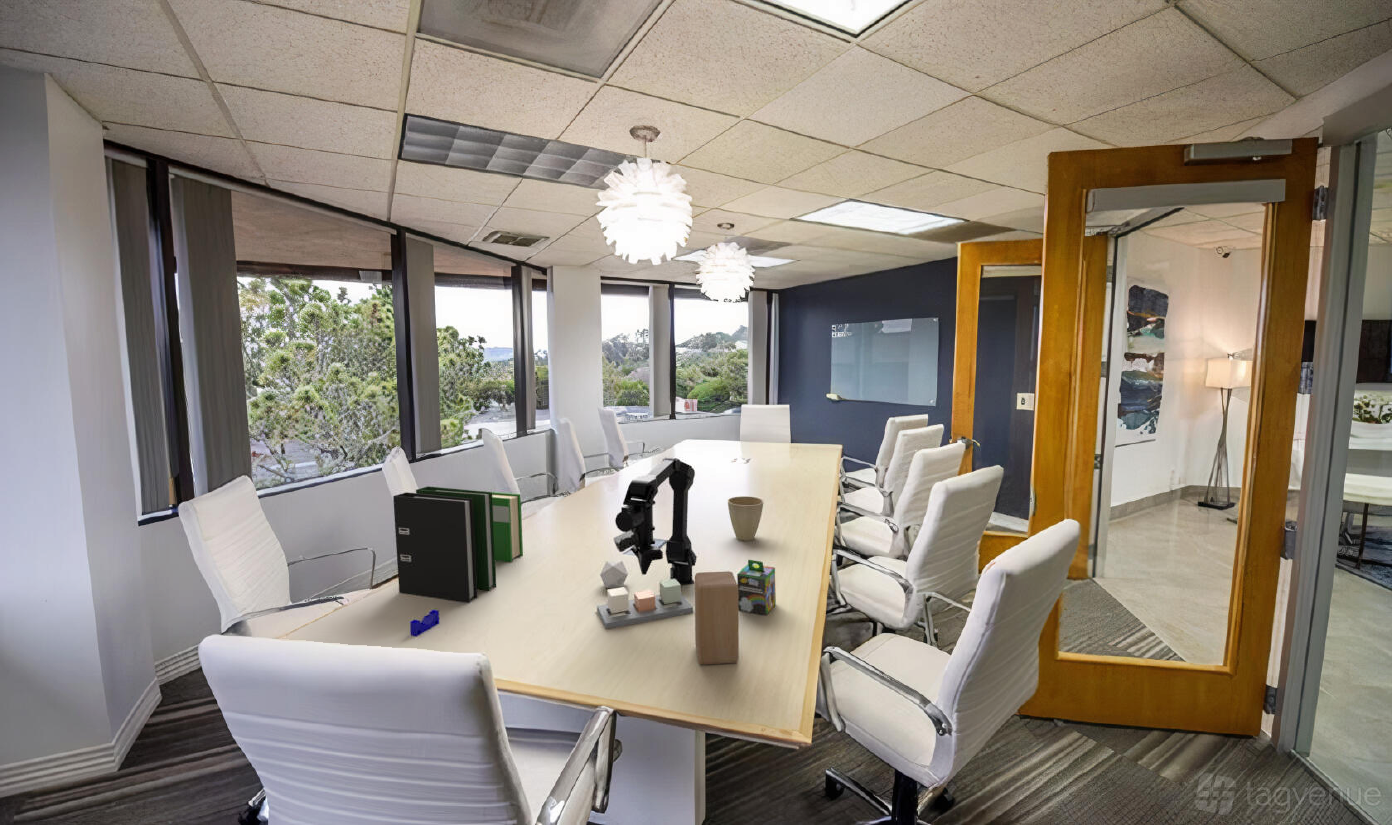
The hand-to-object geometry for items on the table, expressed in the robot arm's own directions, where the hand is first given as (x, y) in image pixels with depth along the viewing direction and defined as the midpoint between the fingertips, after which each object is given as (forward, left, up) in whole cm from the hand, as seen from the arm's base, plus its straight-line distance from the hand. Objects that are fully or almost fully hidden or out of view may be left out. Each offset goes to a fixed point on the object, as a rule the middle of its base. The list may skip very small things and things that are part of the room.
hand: (643, 574), depth 162 cm
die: (+4, -22, -12) cm, 25 cm away
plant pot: (-58, -49, -12) cm, 77 cm away
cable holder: (+60, -14, -12) cm, 63 cm away
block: (-10, +30, -12) cm, 34 cm away
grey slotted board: (0, 0, -12) cm, 12 cm away
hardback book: (+39, -67, -12) cm, 78 cm away
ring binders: (+55, -40, -12) cm, 69 cm away
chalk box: (-32, +10, -12) cm, 36 cm away
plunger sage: (-8, 0, -9) cm, 12 cm away
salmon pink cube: (0, 0, -11) cm, 11 cm away
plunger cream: (+8, 0, -9) cm, 12 cm away
